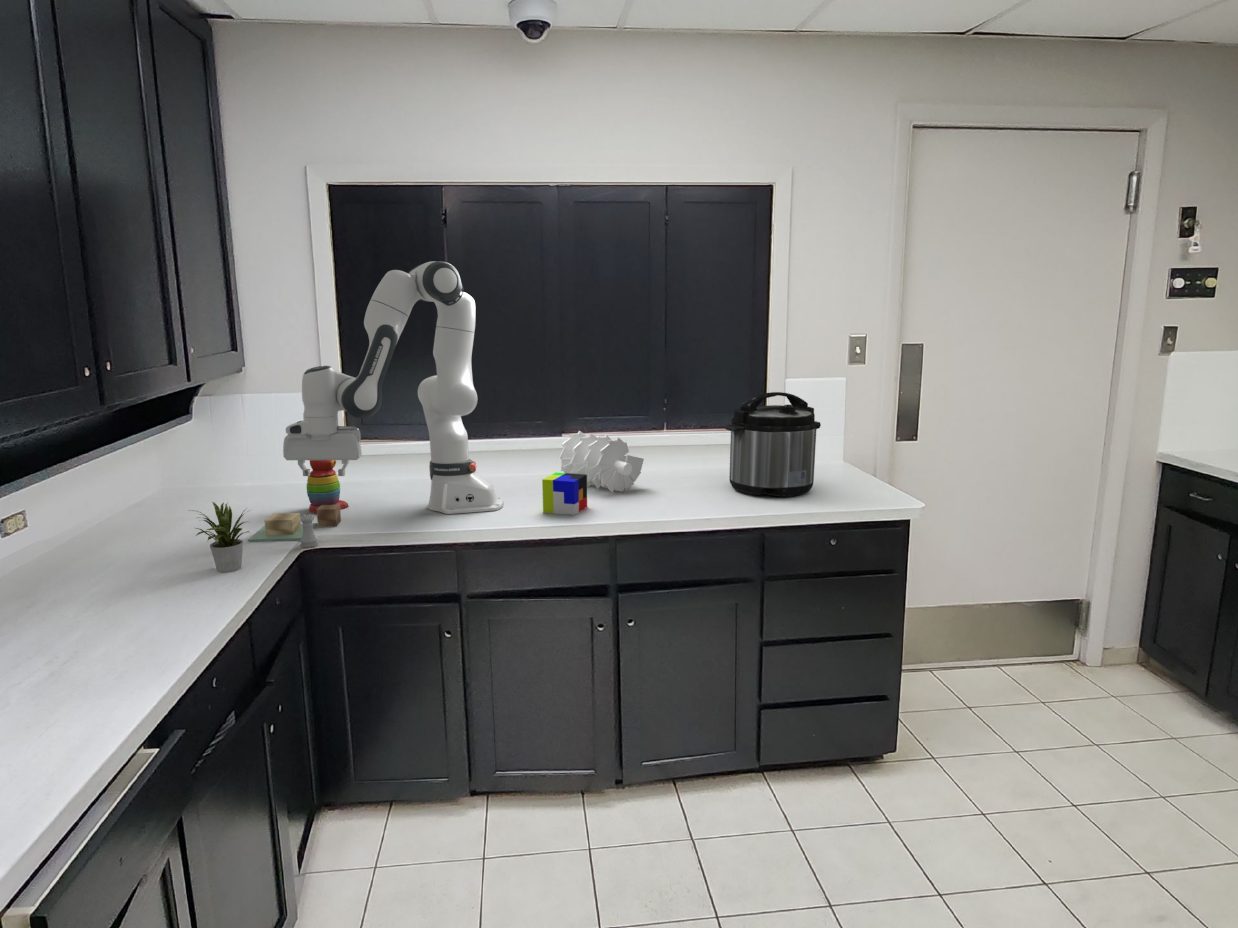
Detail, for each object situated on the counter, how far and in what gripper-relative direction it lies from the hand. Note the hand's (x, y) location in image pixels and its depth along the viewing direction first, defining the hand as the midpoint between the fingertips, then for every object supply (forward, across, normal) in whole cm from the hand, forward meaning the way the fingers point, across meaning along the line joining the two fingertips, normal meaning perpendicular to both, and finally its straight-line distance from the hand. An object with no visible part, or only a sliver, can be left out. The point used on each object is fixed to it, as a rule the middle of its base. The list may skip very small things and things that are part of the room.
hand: (324, 475), depth 225 cm
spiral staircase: (+12, -79, -36) cm, 87 cm away
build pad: (+14, +9, +8) cm, 19 cm away
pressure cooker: (+12, -134, -28) cm, 137 cm away
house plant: (+15, +14, +36) cm, 41 cm away
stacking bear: (+14, +4, -16) cm, 22 cm away
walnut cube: (+14, -1, 0) cm, 14 cm away
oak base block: (+14, +9, +8) cm, 18 cm away
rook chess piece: (+14, -1, +20) cm, 24 cm away
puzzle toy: (+13, -67, -9) cm, 68 cm away
